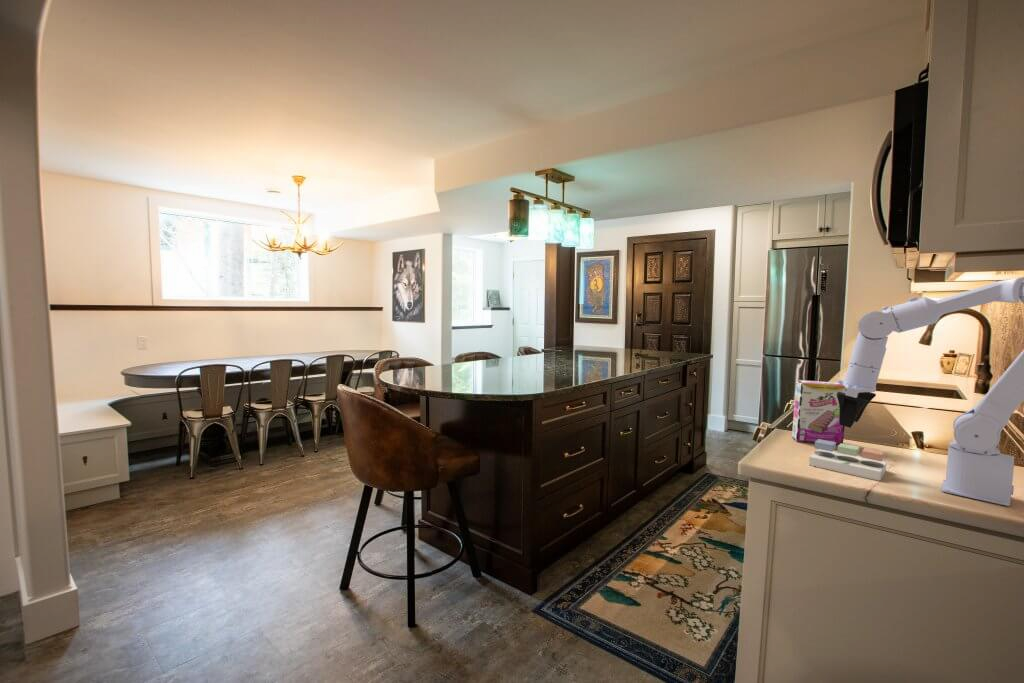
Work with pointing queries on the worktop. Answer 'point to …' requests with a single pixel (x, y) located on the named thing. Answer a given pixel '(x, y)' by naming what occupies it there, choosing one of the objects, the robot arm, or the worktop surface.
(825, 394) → the candy bar box
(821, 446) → the slate button
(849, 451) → the sage button
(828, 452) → the console
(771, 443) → the worktop surface
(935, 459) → the worktop surface
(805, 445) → the worktop surface
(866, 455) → the terracotta button
